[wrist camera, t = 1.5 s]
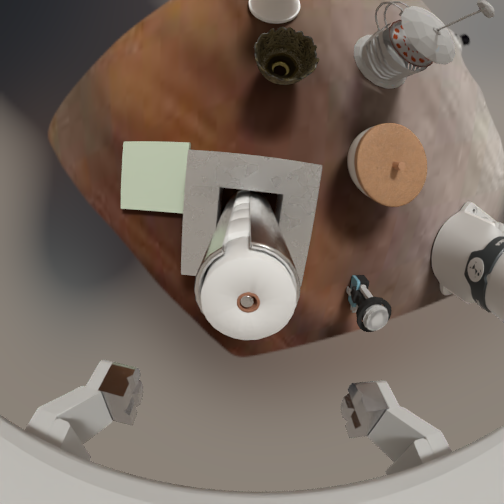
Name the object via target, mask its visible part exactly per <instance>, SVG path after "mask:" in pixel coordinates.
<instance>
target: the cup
mask: <svg viewBox="0 0 504 504" xmlns="http://www.w3.org/2000/svg"><path fill="white" fill-rule="evenodd" d="M254 48H255V60H256V63H257V66H258V68H259V70H260V72H261V74H262V75H263V76H264V77H265V78H266V79H267V80H269V81H271V82H273V83H275V84H279V85H290V84H294V83H296V82H298V81H300V80H302V79H304V78H305V77H307V76H308V75H309V74H311V73H312V72H313V71H314V70H315V69H316V66H317V63H318V62H319V58H317V57H316V56H317V53H316V48H317V46H316V45H314V43H313V39H312V38H311V37H309V36H304V35H303V32H302V31H298V32H297V33H295V30H293V29H292V28H284V27H280V28H278V29H277V30H276V31H275V30H274V29H273V28H272V29H270V31H269V32H268V33H263V34H261V35H260V36H259V38H258V41H257V42H256V43H255V45H254ZM276 66H283V67H284V68H285V70H286V73H285V74H284V75H282V76H281V75H277V74H275V72H274V68H275V67H276Z"/></svg>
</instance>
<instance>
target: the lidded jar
mask: <svg viewBox="0 0 504 504" xmlns="http://www.w3.org/2000/svg"><path fill="white" fill-rule="evenodd" d="M347 164H348V170H349V174H350V176H351V179H352V180H353V182H354V184H355V185H356V186H357V188H358V189H359V190H360V191H361V192H362V193H364V194H365V195H366V196H368V197H369V198H371V199H373V200H374V201H375V202H377V203H379V204H382V205H385V206H389V207H399V206H402V205H405V204H407V203H409V202H411V201H412V200H413V199H414V198H415V197H416V196H417V195H418V194H419V192H420V191H421V189H422V187H423V185H424V183H425V180H426V175H427V160H426V155H425V152H424V149H423V147H422V144H421V143H420V141H419V139H418V138H417V137H416V136H415V134H414V133H412V132H411V131H410V130H409V129H407V128H406V127H404V126H402V125H399V124H395V123H384V124H379V125H376V126H373V127H370V128H368V129H366V130H364V131H363V132H361V133H360V134H359V135H358V136H357V137H356V138H355V139H354V140H353V142H352V144H351V146H350V148H349V151H348V158H347Z"/></svg>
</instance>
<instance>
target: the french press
mask: <svg viewBox="0 0 504 504" xmlns="http://www.w3.org/2000/svg"><path fill="white" fill-rule="evenodd" d="M386 3H389V4H388V5H387V6H386V8H385V11H384V21H385V25H386V26H385V27H383V28H382V29H381V30H380V29H379V25H378V22H377V11H378V9H379V8H380V7H381V6H382V5H383V4H386ZM395 3H401V4H403V5H406V4H405V3H403V2H400V1H393V2H383V3H381V4H380V5H379V6H378V7H377V9H376V13H375V21H376V24H377V28H378V31H377V32H376V33H375V34H374V35H366V36H364V37H362V38H360V39H359V40H358V41H357V43H356V45H355V46H354V58H355V61H356V64H357V66H358V68H359V69H360V71H361V72H362V73H363V75H364V76H365V77H366V78H367V79H369V80H370V81H371V82H373V83H374V84H375V85H378V86H381V87H383V88H386V89H387V88H397V87H399V86H400V85H402V84H404V82H405V80H406V78H407V76H410V75H412V74H415V73H418V72H420V71H423V70H425V69H426V68H427V67H428V66H429V65H431V64H432V63H433V62H434V63H438V64H448V63H450V62H452V61H453V58H454V56H455V45H454V42H453V39H452V37H451V34H450V32H449V31H448V29H447V28H446V27H448V26H450V25H452V24H454V23H456V22H458V21H460V20H463V19H465V18H467V17H469V16H472V15H474V14H477V13H479V12H482V13H483V14H484V15H485V16H486V17H488V18H491V17H493V16H494V8H493V7H492V5H491V4H490V3H488V2H487V1H485V0H479V1H478V2H477V5H478V7H479V9H480V10H478V11H476V12H474V13H472V14H469V15H467V16H464V17H462V18H460V19H458V20H456V21H454V22H452V23H449V24H447V25H444V24H443V22H442V21H440V20H439V19H438V18H437V17H436V16H435V15H434V14H433V13H431V12H429V11H427V10H426V9H424V8H421V7H415V6H411V7H409V6H408V5H406V6H407V7H408V8H405V10H404V12H403V9H402V8H401V7H399V6H398V5H397V4H395ZM391 4H393V5H395V6H397V7H398V8H399V9H400V10H401V13H400V14H399V15H400V16H401V20H398V21H396V22H393V23H392V25H391V26H390V27H389V28H388V25H390V24H391V23H390V24H388V25H387V22H386V17H385V14H386V10H387V8H388V7H389V6H390V5H391ZM385 28H386V30H385V31H383V30H384V29H385ZM408 63H410V65H409V69H408ZM412 65H413V69H412V70H411V66H412ZM415 66H417V68H416V70H415V71H414V69H415ZM419 67H421V68H420V69H418V68H419Z"/></svg>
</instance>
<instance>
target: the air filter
mask: <svg viewBox="0 0 504 504" xmlns="http://www.w3.org/2000/svg"><path fill="white" fill-rule="evenodd" d="M194 291H195V297H196V302H197V304H198V306H199V308H200V310H201V312H202V313H203V314H204V315H205V317H206V319H207V320H208V321H209V323H210V324H211V325H212V326H213V327H214V328H215V329H216V330H218V331H219V332H221V333H222V334H224V335H227V336H229V337H232V338H235V339H241V340H258V339H261V338H264V337H268V336H270V335H272V334H274V333H276V332H278V331H280V330H281V329H282V328H283V327H284V326H285V325H286V324H287V323H288V321H289V320H290V318H291V317H292V315H293V313H294V310H295V308H296V305H297V302H298V299H299V296H300V281H299V277H298V274H297V270H296V268H295V265H294V263H293V260H292V257H291V255H290V252H289V250H288V247H287V245H286V242H285V240H284V237H283V235H282V232H281V230H280V228H279V225H278V223H277V220H276V218H275V215H274V213H273V210H272V208H271V206H270V203H269V201H268V200H267V198H266V197H265V196H264V195H263V194H262V193H260V192H258V191H251V190H240V191H238V192H236V193H235V194H233V195H232V196H231V197H230V198H229V200H228V202H227V204H226V206H225V208H224V211H223V213H222V215H221V217H220V220H219V222H218V224H217V227H216V229H215V231H214V234H213V236H212V238H211V241H210V243H209V245H208V248H207V250H206V252H205V255H204V257H203V260H202V262H201V265H200V267H199V269H198V272H197V274H196V278H195V286H194Z"/></svg>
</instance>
